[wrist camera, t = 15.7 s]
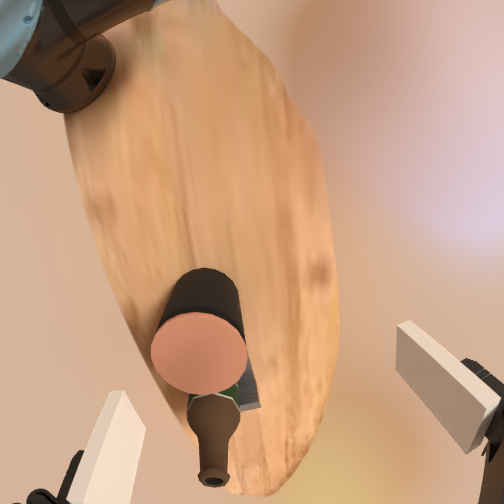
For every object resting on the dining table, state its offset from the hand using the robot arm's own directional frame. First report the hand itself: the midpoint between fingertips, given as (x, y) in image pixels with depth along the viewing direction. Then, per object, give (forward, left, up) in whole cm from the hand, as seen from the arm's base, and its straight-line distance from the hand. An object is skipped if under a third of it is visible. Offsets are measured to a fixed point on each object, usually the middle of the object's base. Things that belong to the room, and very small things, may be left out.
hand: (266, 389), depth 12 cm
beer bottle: (+21, -9, -33) cm, 41 cm away
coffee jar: (+8, -7, -35) cm, 36 cm away
